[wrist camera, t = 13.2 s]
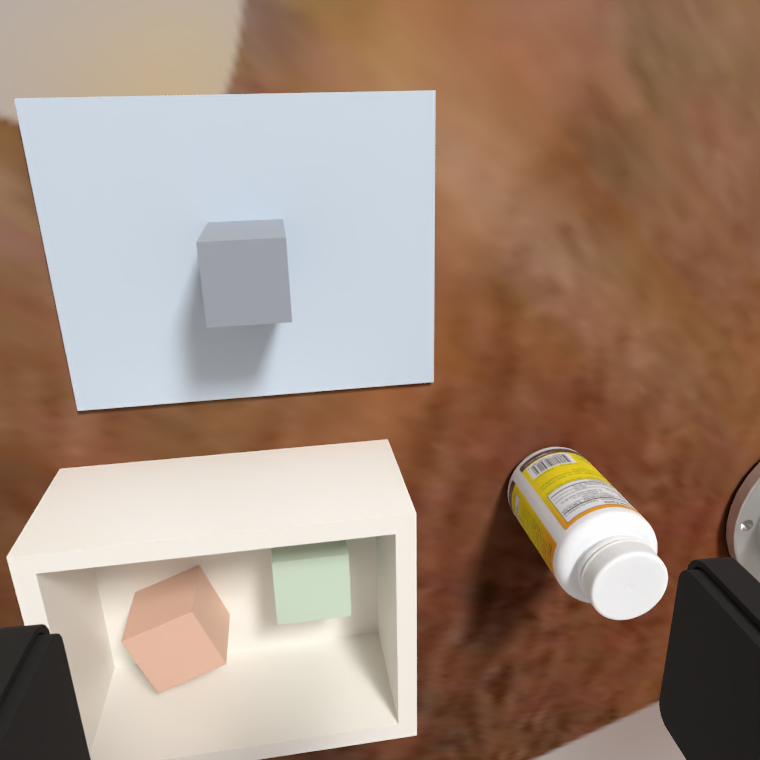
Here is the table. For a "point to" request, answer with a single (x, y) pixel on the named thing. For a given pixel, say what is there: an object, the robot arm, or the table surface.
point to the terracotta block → (177, 629)
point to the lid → (237, 241)
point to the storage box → (230, 599)
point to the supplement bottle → (587, 533)
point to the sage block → (311, 581)
